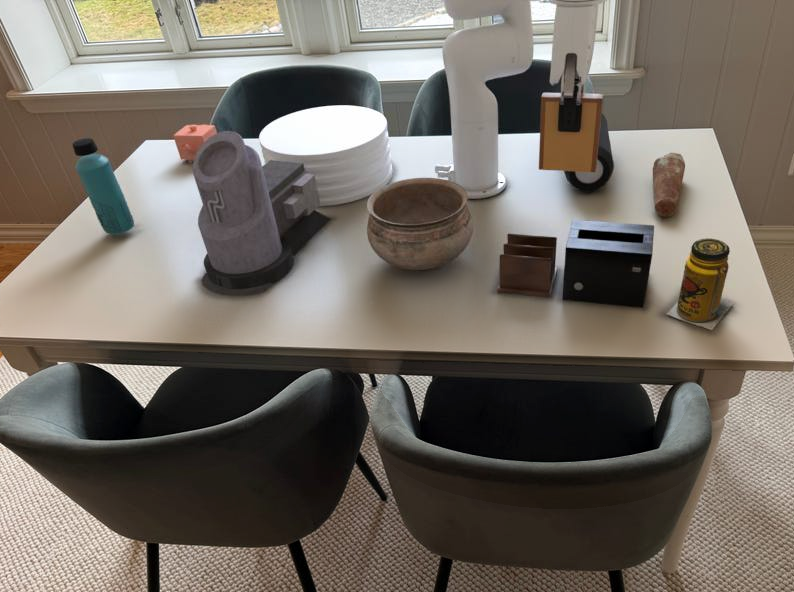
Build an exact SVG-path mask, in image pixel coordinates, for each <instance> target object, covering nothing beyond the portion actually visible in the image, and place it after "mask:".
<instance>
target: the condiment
mask: <svg viewBox="0 0 794 592" xmlns="http://www.w3.org/2000/svg"><path fill="white" fill-rule="evenodd" d="M690 248H691V249H690V252H689V256H688V257H687V258H686V261H685V265H684V270H683V276H682V280H681V286H680V291H679V295H678V301H677V302H676V303H675V304H674V305H673V306H672V307H671V309H669V311H668V312H667V313H666V315H667V316H670V317H673V318H675V319H678V320H680V321H683V322H685V323H689V324H692V325H694V326H698V327H701V328H704V329H707V330H710V331H712V330H713V329H714V328H715V327H716V326H717V325H718V323H719V322H720V321H721V319H723V317H724V316H725V314H726V313H727V312H728V311H729V310H730V308H731V306H732V305H733V304H734V302H732V301H726V300H723V299H722V296H723V293H724V288H725V284H726V279H727V275H728V271H729V267H730V266H729V262H728V261H729V255H730V252H731V250H730V247H729V245H728V244H727V243H725V242H724V241H722V240H720V239H717V238H708V237H707V238H700V239H697V240H696V241H694V242H693V243H692V245H691V247H690Z"/></svg>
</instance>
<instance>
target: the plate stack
mask: <svg viewBox="0 0 794 592" xmlns="http://www.w3.org/2000/svg"><path fill="white" fill-rule="evenodd" d="M258 141H259V145H260V148H261V153H262V158H263V159H264V165H265V164H266V163H267V162H269V161H270V160H275V161H284V162H294V163H303V164H304V168H305V169H306V170H307V172H308V174H312V175H315V180H316V185H317V190H318V195H319V200H320V205H319V206H318V207H330V206H338V205H342V204H348V203H353V202H356V201H358V200H361V199H364V198H367V197H368V196H369V197H370V196H371V195H372V194H373V193H374V192H375V191H377V190H378V189H380V188H382V187H384V186H386V185H388V184H389V182H390V181H391V179H392V177H393V173H394V172H393V164H392V155H391V146H390V138H389V131H388V120H387V118H386V117H385V115H384V114H382V113H381V112H379V111H377V110H376V109H373V108H369V107H366V106H365V107H364V106H358V105H343V104H342V105H341V104H339V105H326V106H318V107H317V106H316V107H311V108H306V109H301V110H297V111H295V112H292V113H289V114H286V115H284V116H281V117H278V118H277V119H275V120H273V121H271V122H270V123H268V124H267V125H265V127H264V128H262V130H261V131H260V133H259V136H258Z"/></svg>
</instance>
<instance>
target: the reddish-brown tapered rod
mask: <svg viewBox="0 0 794 592" xmlns="http://www.w3.org/2000/svg"><path fill="white" fill-rule="evenodd" d="M685 168H686V162H685V160H684V157H683V155H682V154H681V153H678V152H670V153H667V154H665V155H663V156H661V157H658V158H656V159H655V160H654V162H653V166H652V188H653V203H654V210H655V213H656V214H658V216H660V217H664V218H668V217H671V216H673V215H675V214H676V212H677V210H678V206H679V205H678V204H679V200H680V194H681V190H682V186H683V180H684V176H685V171H686V169H685Z"/></svg>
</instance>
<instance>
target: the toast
mask: <svg viewBox="0 0 794 592" xmlns="http://www.w3.org/2000/svg"><path fill="white" fill-rule="evenodd" d="M560 98H561V92H542V94H541V98H540V120H539V121H540V122H539V124H540V125H539V148H538V149H539V151H538V152H539V153H538V155H539V156H538V170H541V171H558V172H564V171H577V172H596V166H597V156H598V146H599V135H600V125H601V114H603V104H604V103H603V102H604V93H584V92H583V93H581V103H582V116H581V129H580V131H579V132H559V131H558V115H559V103H560Z"/></svg>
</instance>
